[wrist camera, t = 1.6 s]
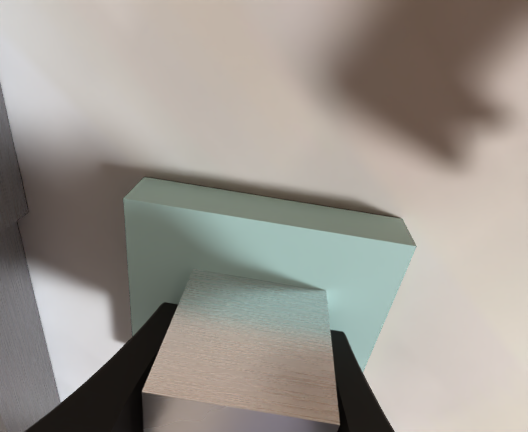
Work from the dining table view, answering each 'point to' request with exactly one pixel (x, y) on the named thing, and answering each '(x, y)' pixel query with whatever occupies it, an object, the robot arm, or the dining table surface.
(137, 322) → the mint green square slab
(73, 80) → the dining table surface
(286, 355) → the block
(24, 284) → the grey sliding box
